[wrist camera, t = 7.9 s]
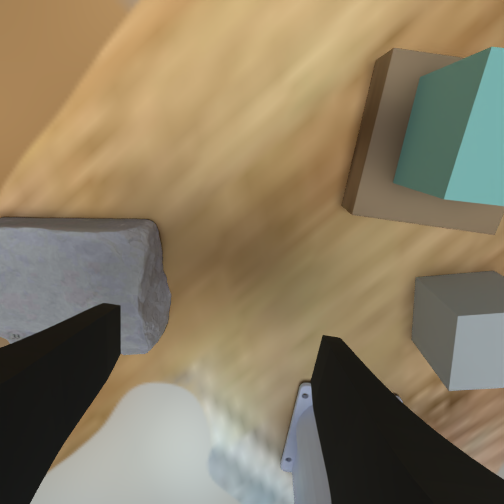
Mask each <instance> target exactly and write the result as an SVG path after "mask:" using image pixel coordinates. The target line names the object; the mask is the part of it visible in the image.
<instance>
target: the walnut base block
mask: <svg viewBox="0 0 504 504" xmlns="http://www.w3.org/2000/svg"><path fill="white" fill-rule="evenodd" d="M462 59H464V58H460V57H454V56H447V55H440V54H433V53H426V52H419V51H412V50H405V49H399V48H393V49H392V50H390V51H389V52H387V53H386V54H385V55H383V56H382V57H380V58H379V59H378V60H376V62H375V66H374V70H373V75H372V79H371V83H370V87H369V92H368V96H367V100H366V104H365V109H364V113H363V117H362V121H361V126H360V130H359V134H358V138H357V143H356V147H355V151H354V155H353V159H352V164H351V168H350V172H349V176H348V181H347V185H346V189H345V193H344V198H343V202H342V206H343V207H344V208H345V209H346V210H347V211H348V212H349V213H351V214H352V215H357V216H364V217H371V218H378V219H385V220H392V221H399V222H406V223H414V224H421V225H428V226H435V227H442V228H449V229H456V230H463V231H470V232H477V233H484V234H491V235H495V233H496V231H497V228H498V226H499V223H500V221H501V219H502V216H503V214H504V206H498V205H489V204H480V203H471V202H463V201H454V200H445V199H441V198H438V197H435V196H432V195H429V194H426V193H422V192H419V191H416V190H413V189H410V188H407V187H404V186H401V185H397V184H394V183H393V181H394V177H395V173H396V169H397V165H398V161H399V157H400V153H401V150H402V146H403V142H404V138H405V134H406V130H407V126H408V122H409V118H410V114H411V110H412V107H413V103H414V99H415V95H416V91H417V87H418V83H419V79H420V77H421V76H424V75H426V74H429V73H431V72H433V71H436V70H438V69H440V68H443V67H445V66H448V65H450V64H452V63H455V62H457V61H459V60H462Z"/></svg>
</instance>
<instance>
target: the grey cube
mask: <svg viewBox="0 0 504 504" xmlns="http://www.w3.org/2000/svg"><path fill="white" fill-rule="evenodd" d="M411 340H412V341H413V342H414V344H415V345H416V347H417V348H418V349H419V351H420V352H421V353H422V355H423V356H424V358H425V359H426V360H427V362H428V363H429V364H430V366H431V367H432V369H433V370H434V371H435V373H436V374H437V375H438V377H439V378H440V380H441V381H442V382H443V384H444V385H445V386H446V388H447V389H448V391H455V390H473V389H490V388H504V276H502V275H500V274H498V273H497V272H495V271H484V272H472V273H460V274H448V275H436V276H424V277H416V280H415V295H414V310H413V325H412V339H411Z"/></svg>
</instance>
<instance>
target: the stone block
mask: <svg viewBox="0 0 504 504" xmlns="http://www.w3.org/2000/svg"><path fill="white" fill-rule="evenodd" d="M162 260H163V257H162V248H161V242H160V237H159V231H158V228H157V226H156V224H155V223H154V222H153V221H150V220H147V219H89V218H18V217H3V218H0V337H2V338H5V339H7V340H8V341H9V343H10V344H12V343H14V342H16V341H19V340H21V339H24V338H26V337H28V336H31V335H33V334H35V333H38V332H40V331H42V330H45V329H47V328H49V327H51V326H53V325H56V324H58V323H60V322H62V321H64V320H66V319H68V318H71V317H73V316H75V315H77V314H79V313H81V312H83V311H85V310H88V309H90V308H92V307H94V306H97V305H99V304H102V303H109V304H115V305H121V354H123V355H131V354H145V353H148V351H149V350H151V349H152V347H153V346H154V345H155V344H156V343H157V342H158V341H159V339H160V337H161V335H162V334H163V333H164V330H165V328H166V325H167V323H168V319H169V309H170V304H171V293H170V290H169V287H168V283H167V277H166V275H165V273H164V272H163V264H162Z"/></svg>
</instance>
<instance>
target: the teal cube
mask: <svg viewBox="0 0 504 504" xmlns="http://www.w3.org/2000/svg"><path fill="white" fill-rule="evenodd" d="M393 183H394V184H397V185H401V186H404V187H407V188H410V189H413V190H416V191H419V192H422V193H426V194H429V195H432V196H435V197H438V198H441V199H445V200H454V201H463V202H471V203H480V204H489V205H498V206H504V48H498V47H490V48H488V49H485V50H483V51H481V52H478V53H476V54H474V55H471V56H469V57H466V58H464V59H462V60H459V61H457V62H455V63H452V64H450V65H448V66H445V67H443V68H440V69H438V70H436V71H433V72H431V73H429V74H426V75H424V76H421V77H420V79H419V83H418V87H417V91H416V95H415V99H414V103H413V107H412V110H411V114H410V118H409V122H408V126H407V130H406V134H405V138H404V142H403V146H402V150H401V153H400V157H399V161H398V165H397V169H396V173H395V177H394V181H393Z"/></svg>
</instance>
